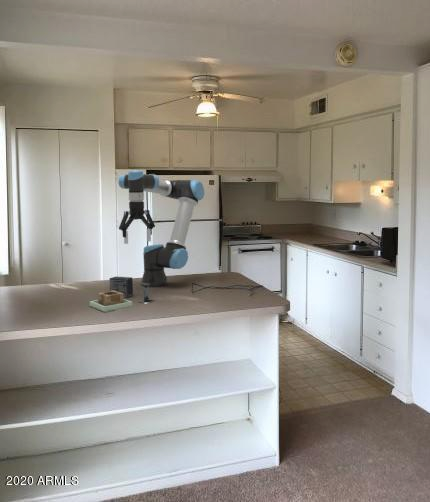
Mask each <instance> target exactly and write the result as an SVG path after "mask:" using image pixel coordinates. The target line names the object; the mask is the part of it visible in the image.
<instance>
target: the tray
mask: <svg viewBox="0 0 430 502" xmlns="http://www.w3.org/2000/svg"><path fill="white" fill-rule="evenodd" d="M133 305H134V304H133V301H131V300H128V299H126V298H124V303H121V304H115V305H110V306H103V305H100V304H98V299H95V300H91V301H89V307H90V308H92V309H95V310H98V311H100V312H103V313H108V312H113V311H115V310H118V309H123V308H128V307H133Z"/></svg>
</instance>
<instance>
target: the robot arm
mask: <svg viewBox="0 0 430 502" xmlns="http://www.w3.org/2000/svg"><path fill="white" fill-rule="evenodd" d="M118 186H119V187H120V188H121V189H123V190H124V189H125V190H128V200H129V202H128V207H129V208H128V209H129V211H127V210H125V211H123V217H122V219H121V221H120V224H119V226H118V230H120V231H121V232H122V238H123V244H125V245H128V244H129V231H128V229H129V228H130V225H131V224H132V223H133V221H135V220H141V221H142V222H143V224H144V225H145V226H146V227H147V228H146V241H147V242H149V243H151V242H152V235H153V229H154V228H155V227H156V225H155V224H156V223H154V220H153V219H152V216H151V213H150V210H149V209H145V202H144V200H145V195H144V194H145V193H144V192H146V193H153V194H159V195H160V196H162V197H165V198H168V199H174V200H177V201H178V202H179V205H178V208H177V212H176V215H175V218H174V223H173V227H172V231H171V235H170V239H169V241H166V243H165V246H164V243H163V244H162V243H161V244H160V243H159V244H151V245H146V246H144V247H143V252H142V254H143V274H142V278H141V281H140V283H141V286H143V285H142V283H150V285H149V286H148V287H151V288H152V287H153V288H156V287H163V286H164V287H165V286H167V285H168V278H167V275H166V271H165V269H172V270H181V269H182V268H185V266H186V265H187V262H188V259H189V255H188V254H189V253H188V251H187V247H186V239H187V236H188V231H189V229H190V224H191V221H192V216H193V212H194V209H195V207H197V205H198V203H199V201H201V200H203V199H204V196H205V187H204V185H203V183H202V181H201V180H198V179H197V180H196V179H176V180H175V179H174V180H166V179H165V180H160V179H159V176H158V175H156V174H152V173H149V174H144V172H143V170H133V169H132V170H129V171H128V174H127V173H126V174H122V175H120V176H119V177H118ZM144 209H145V210H144ZM144 215H145V216H144Z"/></svg>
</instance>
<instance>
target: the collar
mask: <svg viewBox="0 0 430 502" xmlns="http://www.w3.org/2000/svg"><path fill="white" fill-rule="evenodd" d="M124 299H125V298H124V293H121V292H118V291H110V290H109V291H108V290H107V291H103V292H98V293H97V300H98V304H100V305H103V306H110V305H115V304H121V303H124Z"/></svg>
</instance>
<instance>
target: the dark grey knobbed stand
mask: <svg viewBox="0 0 430 502" xmlns="http://www.w3.org/2000/svg"><path fill="white" fill-rule="evenodd" d="M149 285H150V283H142V285H141V286H143V299H142V300H138V303H139V304H142V305H144V304H146V305H147V304H153V303H155V300H154V299H150V295H149Z"/></svg>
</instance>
